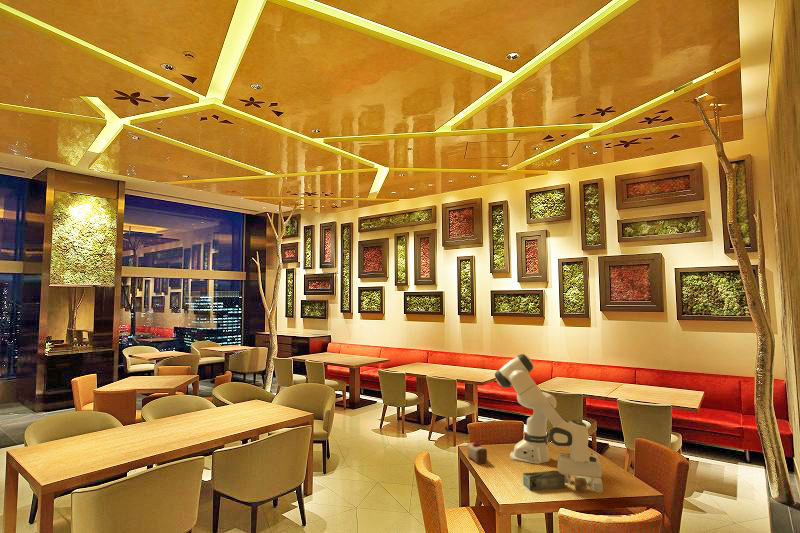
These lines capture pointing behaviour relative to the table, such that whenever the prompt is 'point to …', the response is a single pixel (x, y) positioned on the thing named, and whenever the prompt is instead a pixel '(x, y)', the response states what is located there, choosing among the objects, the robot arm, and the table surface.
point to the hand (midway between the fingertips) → (579, 484)
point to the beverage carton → (543, 480)
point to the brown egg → (566, 478)
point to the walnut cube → (580, 484)
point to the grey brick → (597, 485)
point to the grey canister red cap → (477, 453)
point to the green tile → (585, 477)
